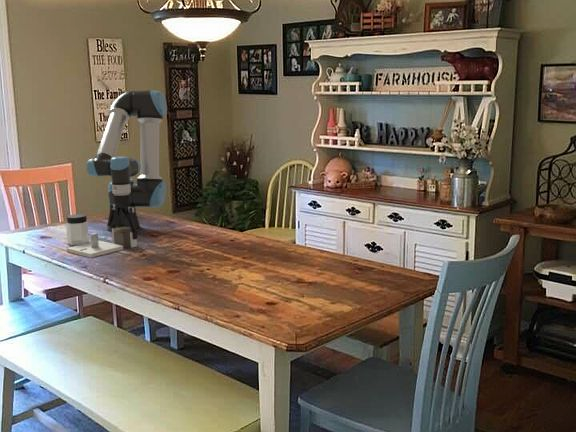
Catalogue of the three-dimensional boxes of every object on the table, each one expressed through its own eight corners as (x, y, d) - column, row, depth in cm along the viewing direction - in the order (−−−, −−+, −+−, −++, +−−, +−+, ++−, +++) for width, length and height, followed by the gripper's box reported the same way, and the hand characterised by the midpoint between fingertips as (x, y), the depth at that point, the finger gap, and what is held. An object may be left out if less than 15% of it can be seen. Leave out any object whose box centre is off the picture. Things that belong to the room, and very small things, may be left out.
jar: (91, 243, 282) (89, 216, 279) (73, 246, 277) (71, 218, 274) (83, 239, 289) (81, 213, 286) (65, 242, 284) (63, 215, 281)
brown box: (126, 242, 282) (125, 224, 281) (136, 244, 278) (135, 226, 277) (113, 245, 277) (112, 227, 276) (123, 247, 273) (122, 229, 272)
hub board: (99, 243, 280) (98, 228, 279) (123, 249, 271) (122, 232, 269) (66, 251, 268) (65, 235, 266) (90, 257, 258) (89, 240, 257)
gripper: (96, 192, 277) (100, 242, 282) (133, 197, 263) (136, 250, 268) (111, 190, 283) (114, 239, 288) (147, 195, 269) (150, 246, 274)
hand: (124, 244), depth 278 cm, fingers open, 11 cm apart
